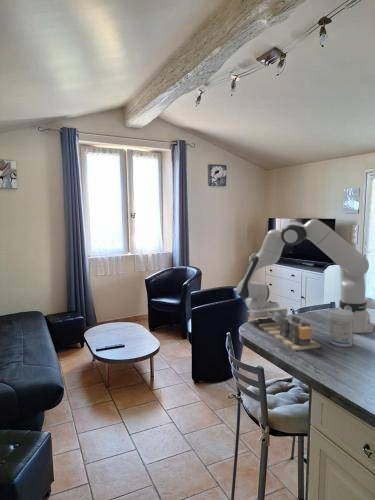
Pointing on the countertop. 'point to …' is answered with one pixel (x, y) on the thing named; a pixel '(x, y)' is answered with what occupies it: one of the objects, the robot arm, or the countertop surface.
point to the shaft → (277, 317)
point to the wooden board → (290, 334)
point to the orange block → (305, 332)
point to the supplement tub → (341, 327)
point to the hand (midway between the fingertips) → (275, 316)
